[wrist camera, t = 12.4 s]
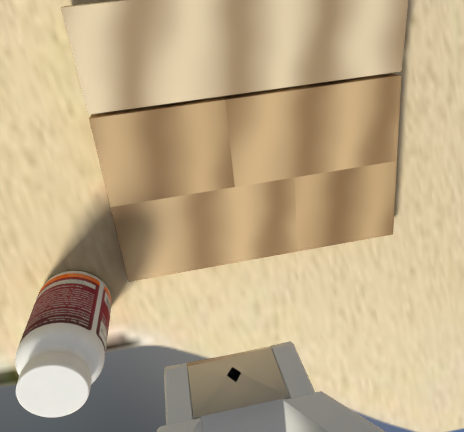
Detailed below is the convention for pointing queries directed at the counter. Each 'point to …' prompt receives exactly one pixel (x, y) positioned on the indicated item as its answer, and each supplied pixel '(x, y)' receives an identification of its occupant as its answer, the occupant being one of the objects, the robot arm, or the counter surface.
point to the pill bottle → (63, 344)
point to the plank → (226, 46)
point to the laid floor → (250, 173)
